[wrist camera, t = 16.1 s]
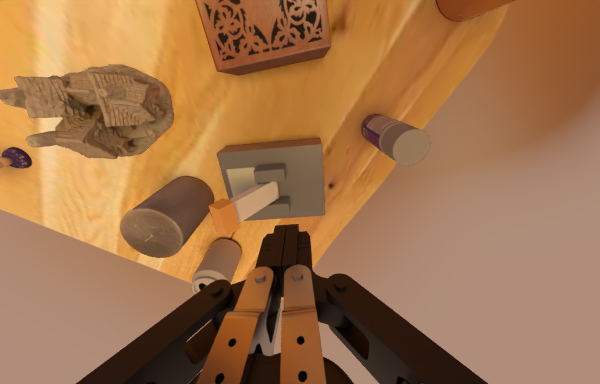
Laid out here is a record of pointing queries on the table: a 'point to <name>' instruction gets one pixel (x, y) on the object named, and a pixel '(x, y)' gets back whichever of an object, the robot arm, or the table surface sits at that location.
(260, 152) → the box
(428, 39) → the table surface
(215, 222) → the breaker lever
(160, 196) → the pillar candle
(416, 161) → the container
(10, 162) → the toy lamp
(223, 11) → the tissue box cover
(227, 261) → the can
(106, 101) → the ceramic cottage
